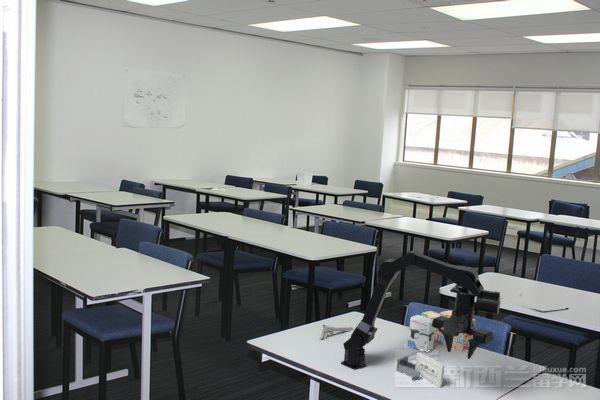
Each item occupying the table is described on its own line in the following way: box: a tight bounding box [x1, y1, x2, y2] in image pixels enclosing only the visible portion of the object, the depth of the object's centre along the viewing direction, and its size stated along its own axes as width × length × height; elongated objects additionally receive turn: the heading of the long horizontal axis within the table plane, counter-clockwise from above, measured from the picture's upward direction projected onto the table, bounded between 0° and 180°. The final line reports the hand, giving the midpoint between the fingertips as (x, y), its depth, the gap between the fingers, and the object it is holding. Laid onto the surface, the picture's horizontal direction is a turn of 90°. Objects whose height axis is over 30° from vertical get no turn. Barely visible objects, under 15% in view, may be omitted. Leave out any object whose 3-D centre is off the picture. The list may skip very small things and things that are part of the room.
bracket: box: [395, 355, 421, 382], centre depth 199 cm, size 9×9×4 cm
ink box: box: [407, 314, 435, 351], centre depth 223 cm, size 8×5×12 cm, turn 47°
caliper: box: [319, 323, 355, 341], centre depth 231 cm, size 20×1×6 cm, turn 137°
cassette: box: [415, 351, 445, 388], centre depth 195 cm, size 12×2×8 cm, turn 32°
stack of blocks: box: [420, 309, 476, 353], centre depth 233 cm, size 21×6×12 cm, turn 39°
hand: (458, 355), depth 187 cm, fingers open, 7 cm apart
